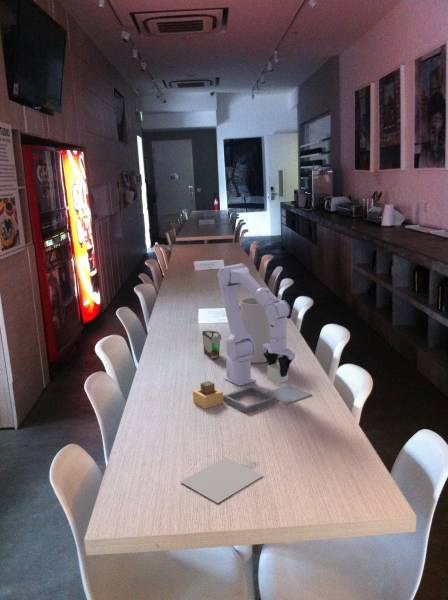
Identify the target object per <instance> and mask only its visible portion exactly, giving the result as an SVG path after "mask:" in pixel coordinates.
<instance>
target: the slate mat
mask: <svg viewBox="0 0 448 600" xmlns="http://www.w3.org/2000/svg"><path fill="white" fill-rule="evenodd" d="M265 392H266V393H268V394H270V395H272V396H275V397H276V402H277V401H278V402H280V403H282V404H284V405H289V404H292V403H295V402H297V401H301V400H303V399H305V398H308V397H312V393H309V392H307V391H305V390H302V389H299V388H298V387H295V386H293V385H290V384H285V385H283V386H280V387H277V388H274V389H271V390H268V391H265Z"/></svg>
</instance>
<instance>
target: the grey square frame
mask: <svg viewBox="0 0 448 600" xmlns="http://www.w3.org/2000/svg"><path fill="white" fill-rule="evenodd" d="M266 392H267V391H264V390H262V389H259V388H258V387H255V386H253V385H251V386H248V387H246V388H242V389H239V390H236V391H233V392H230V393H227V394H223V403H225V404H227V405H230V406H232V407H234V408H236V409H238V410H239V411H241V412H243V413H245V414H249V413H252V412H254V411H257V410H259V408H260V409H262V407H263V408H265V406H266V407H268V406H270V405H274V404H276V403H277V400H276V397H275V396H272V395H270V394H268V393H266ZM250 394H253V395H255V396H257V397H259V398H262V399H263V400H259V401H257V402H255V403H251V404H248V405H246V404H244V403H242V402H240V401H239V400H236V399H239V398H241V397H243V396H246V395H250Z"/></svg>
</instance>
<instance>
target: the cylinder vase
mask: <svg viewBox="0 0 448 600" xmlns="http://www.w3.org/2000/svg"><path fill="white" fill-rule="evenodd" d="M239 301H240V303H239V306H240V309H241V316H242V321H243V326H244V330H245V332H246V333H248V334H250V335H251V339H252V341H253V343H254V345H255V352H254V354H252V357H251V364H261V363H266V362H267V360H266V358H265V356H264V353H265V352H266V351H267V350H263V344H265V343H268V344H270V324H269V322H268V317H267V315H266V310H265V309H264V308H263V307H262V306H261V305H260V304H259V303H258V302H257V301H256V300H255V296H254V297H251V296H250V297H246V298H242V299H240V300H239ZM240 341H242V340H240ZM267 363H268V362H267Z"/></svg>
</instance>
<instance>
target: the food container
mask: <svg viewBox="0 0 448 600" xmlns="http://www.w3.org/2000/svg"><path fill="white" fill-rule="evenodd" d="M201 335H202V344H203V354H204V355H205V356H207V358H208V359H210V360H211V361H214V360H216V359H219V358H220V353H221V352H220V351H221V349H220V348H221V341H222V339H223V338H222V336H221V333H220V332H219V331H216V330H202V331H201Z"/></svg>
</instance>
